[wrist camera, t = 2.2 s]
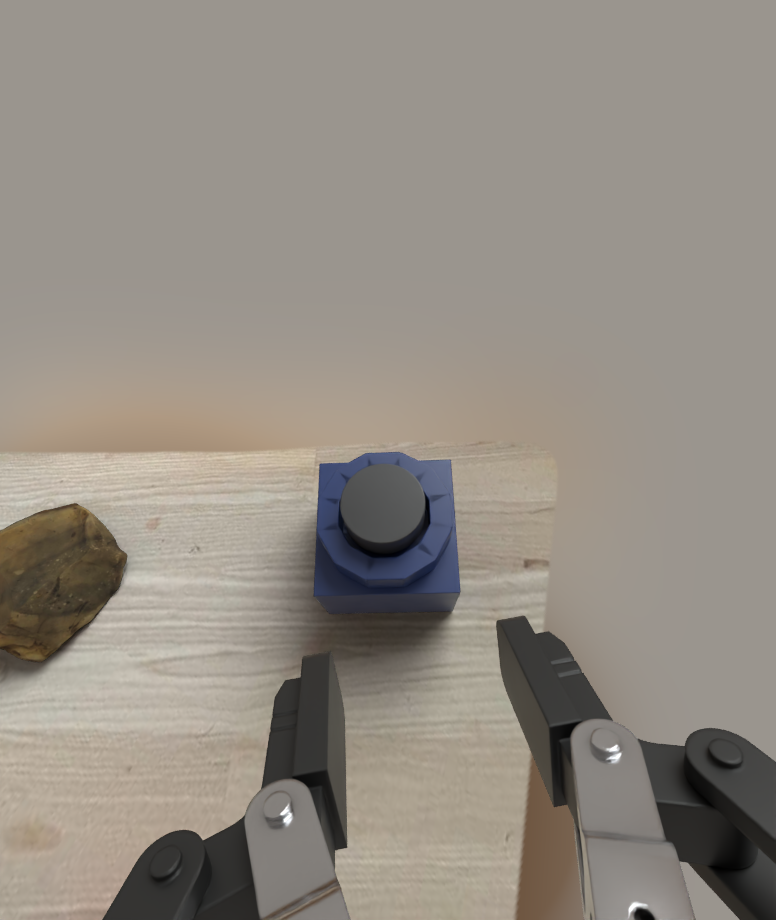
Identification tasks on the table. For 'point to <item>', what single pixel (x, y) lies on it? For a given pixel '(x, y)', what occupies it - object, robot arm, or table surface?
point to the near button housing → (387, 575)
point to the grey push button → (383, 508)
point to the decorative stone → (54, 578)
